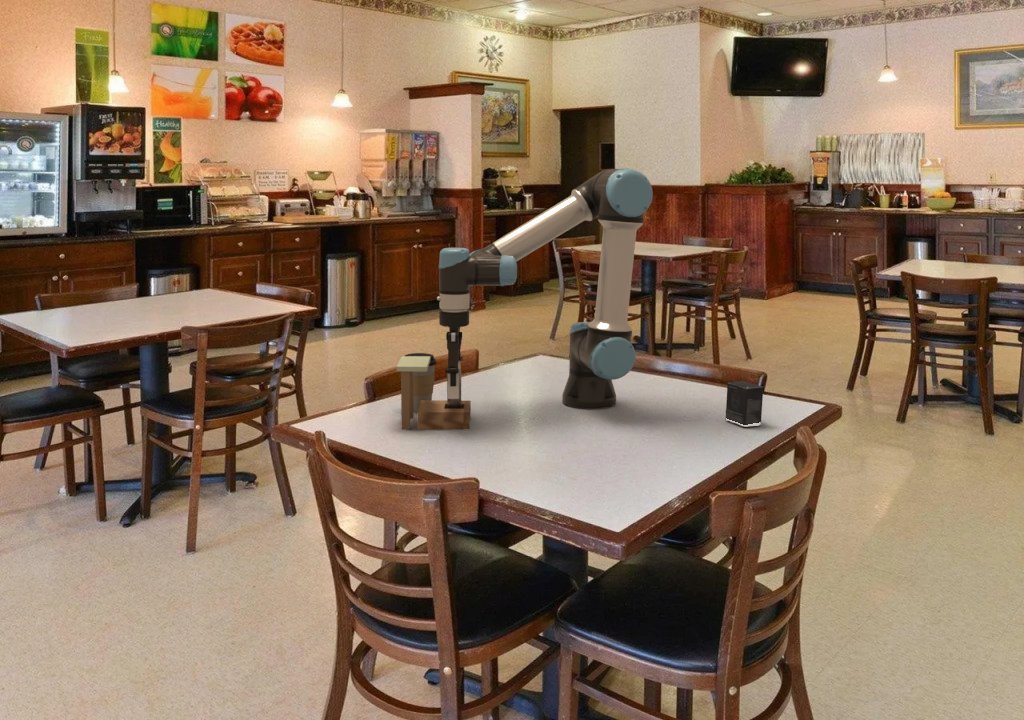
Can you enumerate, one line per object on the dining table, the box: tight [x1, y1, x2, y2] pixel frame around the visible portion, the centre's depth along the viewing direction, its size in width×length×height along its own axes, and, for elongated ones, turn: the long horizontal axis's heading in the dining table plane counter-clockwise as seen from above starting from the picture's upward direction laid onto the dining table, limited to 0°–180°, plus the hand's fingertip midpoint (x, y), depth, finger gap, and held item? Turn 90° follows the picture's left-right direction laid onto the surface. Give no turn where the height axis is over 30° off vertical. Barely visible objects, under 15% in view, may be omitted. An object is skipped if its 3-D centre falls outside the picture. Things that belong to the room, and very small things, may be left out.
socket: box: [416, 399, 472, 431], centre depth 241 cm, size 13×12×4 cm
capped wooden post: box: [396, 355, 430, 430], centre depth 239 cm, size 8×13×16 cm, turn 1°
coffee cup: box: [404, 352, 437, 414], centre depth 252 cm, size 9×9×15 cm
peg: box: [446, 369, 462, 409], centre depth 240 cm, size 4×4×14 cm
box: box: [725, 380, 764, 425], centre depth 243 cm, size 8×6×11 cm
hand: (454, 392), depth 239 cm, fingers open, 13 cm apart
